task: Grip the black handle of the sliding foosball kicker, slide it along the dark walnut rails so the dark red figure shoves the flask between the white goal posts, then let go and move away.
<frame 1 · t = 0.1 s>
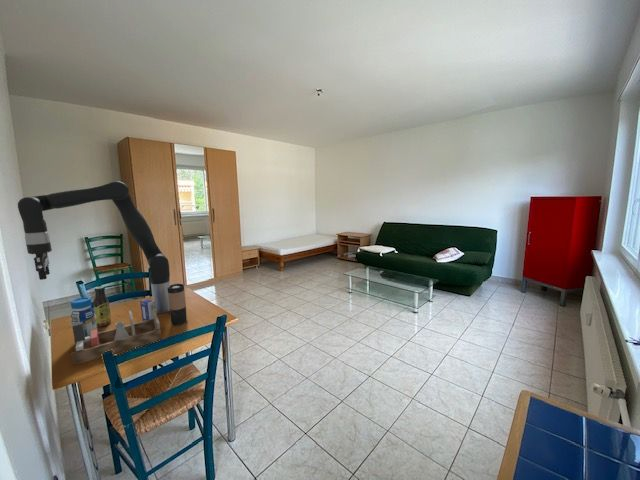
hand: (44, 276, 122), 29 cm above the table, tool pointing down, fingers open, 8 cm apart
sauce bottle: (104, 324, 138), on the table
flask: (122, 344, 121), on the table
foosball frame: (121, 343, 120), on the table
travel mug: (179, 322, 140), on the table
blue-lidded jar: (87, 341, 123), on the table
walkman: (150, 322, 141), on the table
kicker: (86, 337, 112), point 7 cm above the table, slide at 0.0 cm
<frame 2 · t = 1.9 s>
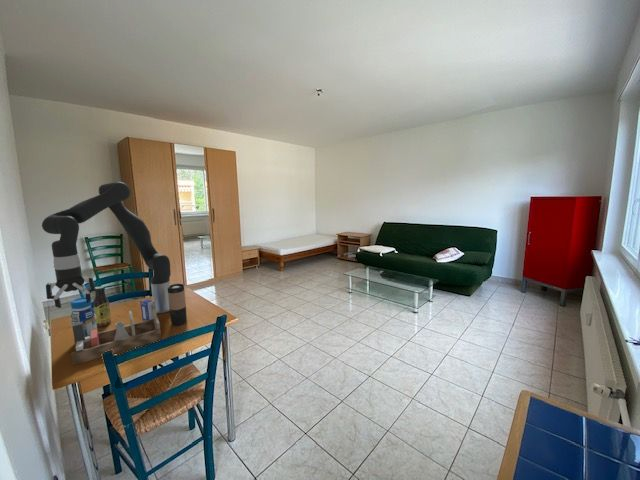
hand: (74, 304, 109), 22 cm above the table, tool pointing down, fingers open, 8 cm apart
nothing on the table moved.
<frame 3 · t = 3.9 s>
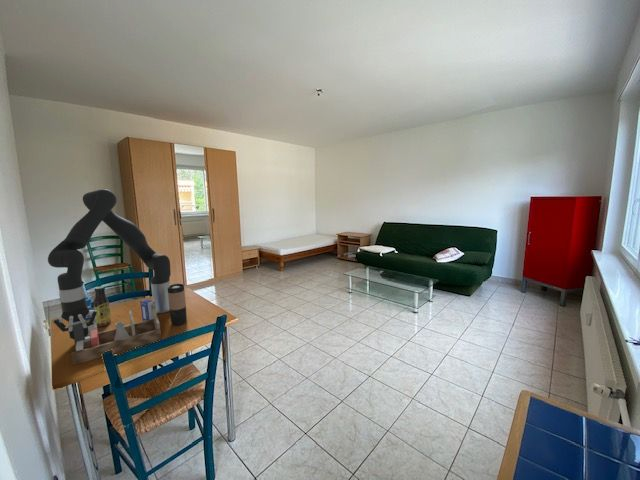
hand: (79, 336, 111), 8 cm above the table, tool pointing down, fingers closed on kicker, 3 cm apart
kicker: (86, 337, 112), point 7 cm above the table, slide at 0.0 cm, touching gripper
everything else where it was.
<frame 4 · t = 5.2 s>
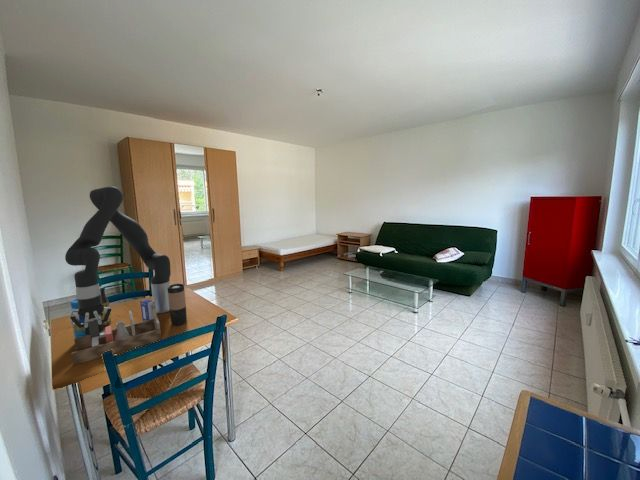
hand: (94, 333, 114), 8 cm above the table, tool pointing down, fingers closed on kicker, 3 cm apart
kicker: (101, 333, 115), point 7 cm above the table, slide at 4.8 cm, touching gripper
everything else where it was.
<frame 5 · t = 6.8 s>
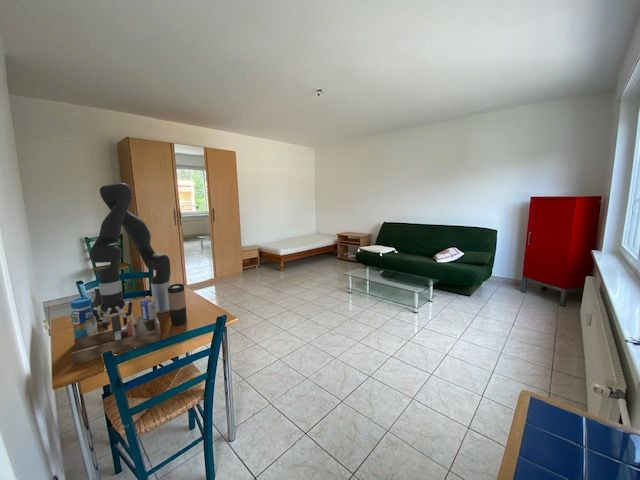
hand: (115, 327, 118), 9 cm above the table, tool pointing down, fingers open, 5 cm apart
flask: (142, 337, 126), on the table
kicker: (122, 328, 120), point 7 cm above the table, slide at 12.4 cm
everything else where it was.
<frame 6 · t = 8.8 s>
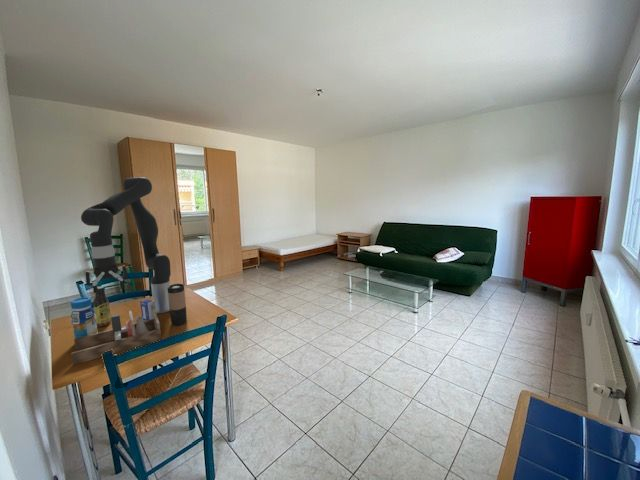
hand: (109, 290, 118), 24 cm above the table, tool pointing down, fingers open, 8 cm apart
nothing on the table moved.
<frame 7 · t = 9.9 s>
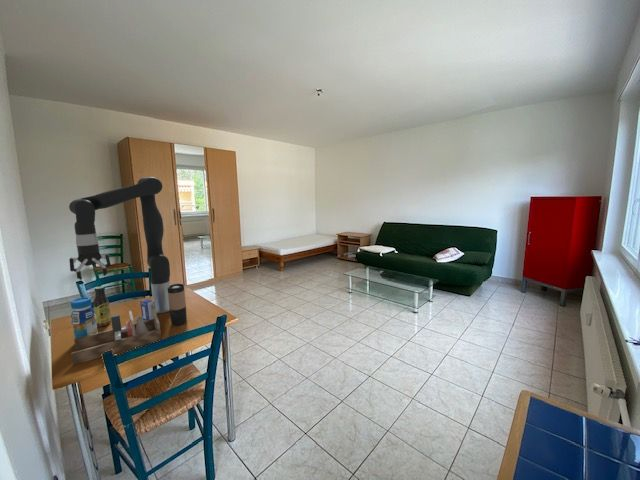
hand: (92, 277, 125), 28 cm above the table, tool pointing down, fingers open, 8 cm apart
nothing on the table moved.
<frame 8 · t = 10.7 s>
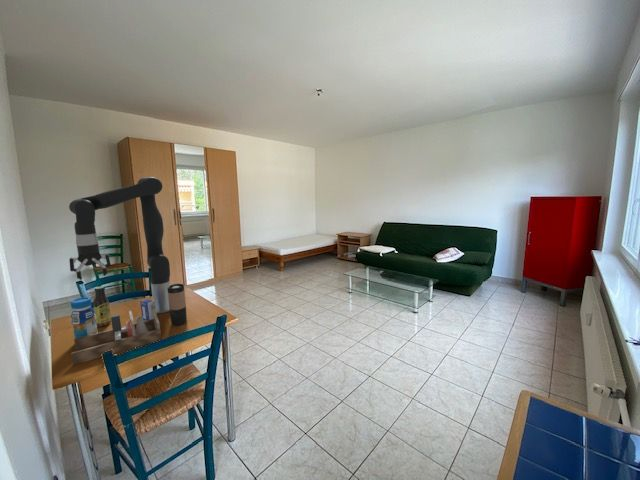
hand: (92, 277, 125), 28 cm above the table, tool pointing down, fingers open, 8 cm apart
nothing on the table moved.
at the end: flask inside the target area (2.1 cm from its centre), on the table; flask tilted 0°; kicker slide at 12.4 cm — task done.
